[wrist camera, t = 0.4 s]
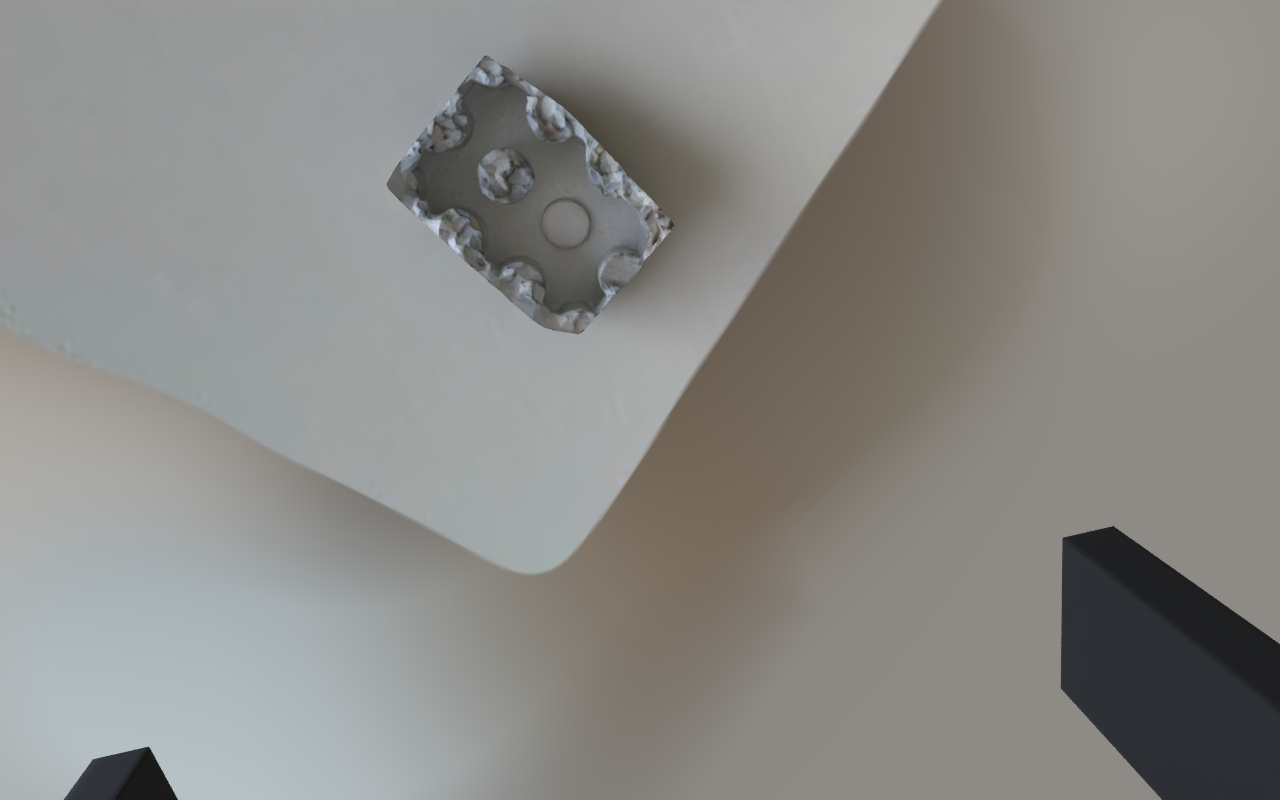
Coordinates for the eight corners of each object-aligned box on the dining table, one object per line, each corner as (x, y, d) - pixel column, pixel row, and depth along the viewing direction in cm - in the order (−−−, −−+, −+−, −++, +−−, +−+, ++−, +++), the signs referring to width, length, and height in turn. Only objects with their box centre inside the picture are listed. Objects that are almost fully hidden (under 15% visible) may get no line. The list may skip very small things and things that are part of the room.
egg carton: (673, 222, 36) (689, 230, 32) (565, 336, 37) (568, 357, 33) (501, 48, 33) (496, 34, 29) (388, 178, 34) (369, 181, 30)
